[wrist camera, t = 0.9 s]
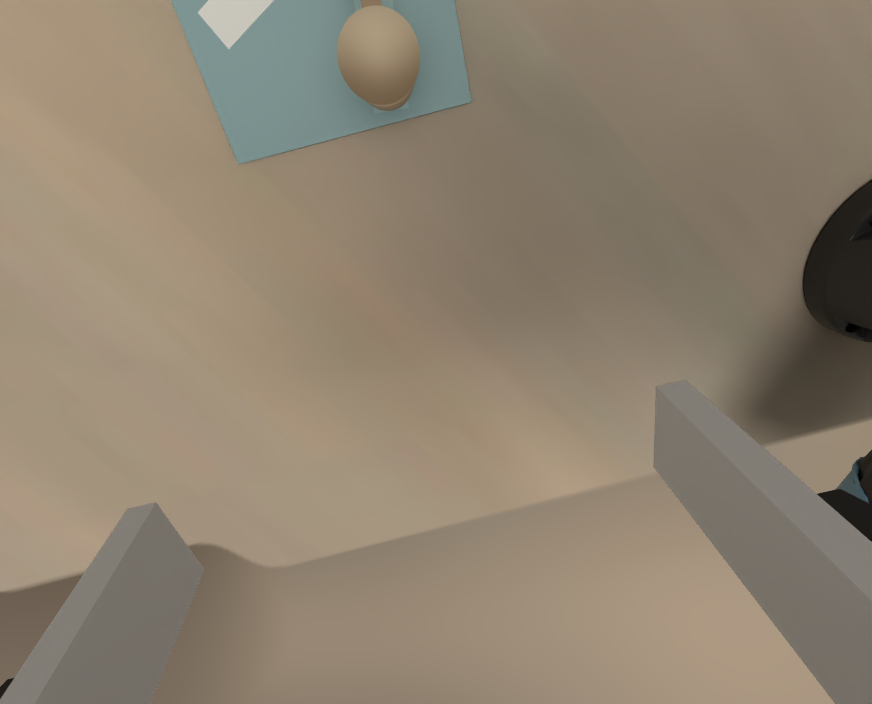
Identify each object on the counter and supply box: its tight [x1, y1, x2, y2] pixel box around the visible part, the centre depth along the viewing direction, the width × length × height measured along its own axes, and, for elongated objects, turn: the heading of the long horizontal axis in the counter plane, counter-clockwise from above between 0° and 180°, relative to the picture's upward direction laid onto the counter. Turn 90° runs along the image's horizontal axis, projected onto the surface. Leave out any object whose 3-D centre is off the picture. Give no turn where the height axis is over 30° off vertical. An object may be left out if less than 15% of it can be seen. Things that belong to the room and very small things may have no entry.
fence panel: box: [337, 0, 420, 111], centre depth 23 cm, size 10×4×11 cm, turn 8°
